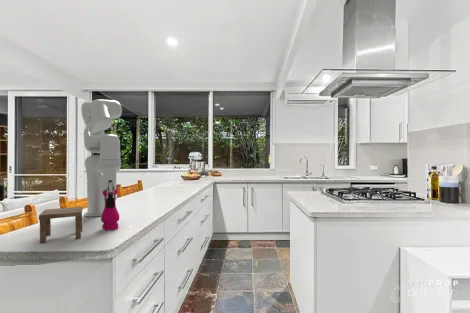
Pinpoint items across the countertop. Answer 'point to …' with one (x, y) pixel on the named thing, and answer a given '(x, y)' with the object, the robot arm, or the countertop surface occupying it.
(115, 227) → the pepper mill
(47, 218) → the walnut stool
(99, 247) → the countertop surface
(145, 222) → the countertop surface
